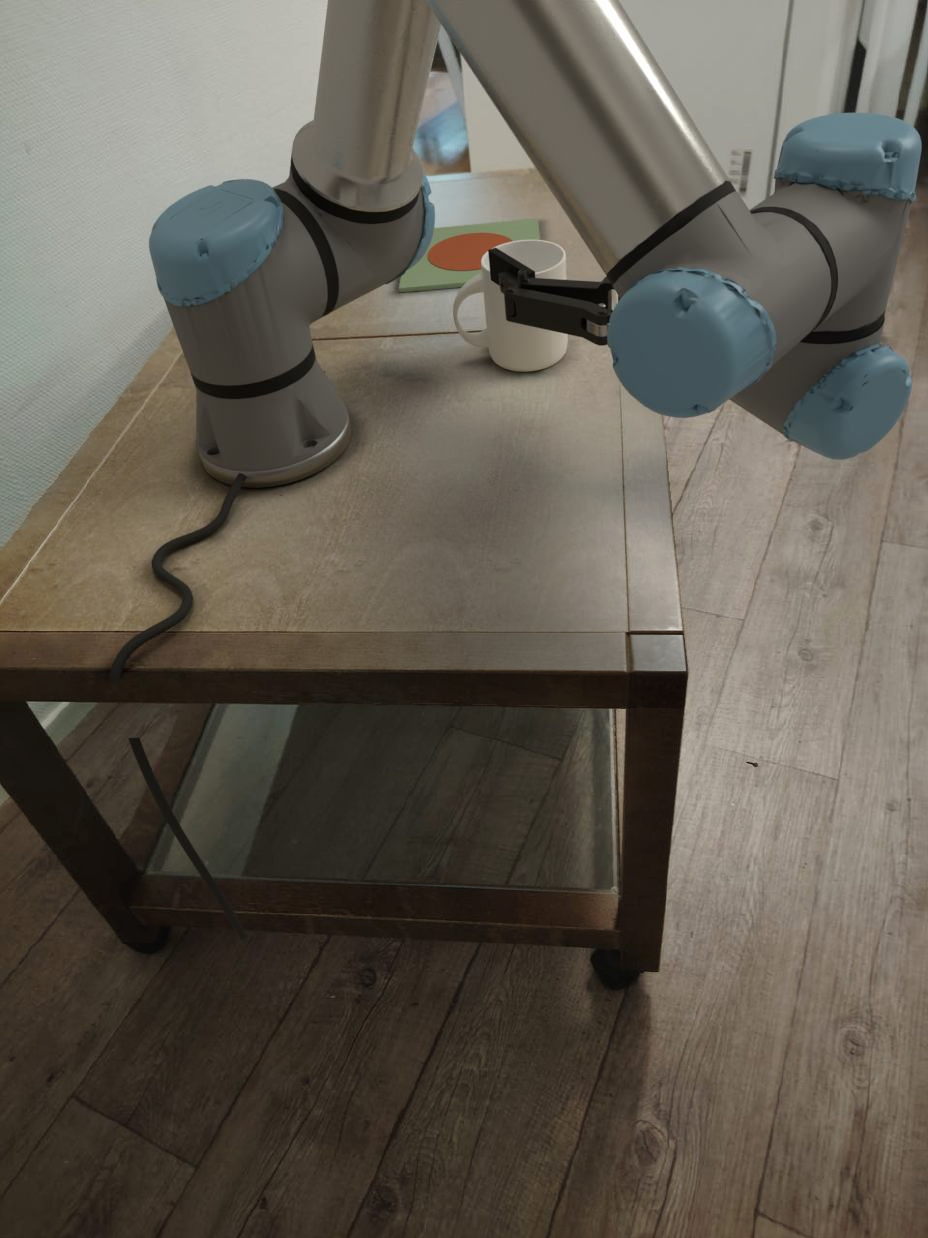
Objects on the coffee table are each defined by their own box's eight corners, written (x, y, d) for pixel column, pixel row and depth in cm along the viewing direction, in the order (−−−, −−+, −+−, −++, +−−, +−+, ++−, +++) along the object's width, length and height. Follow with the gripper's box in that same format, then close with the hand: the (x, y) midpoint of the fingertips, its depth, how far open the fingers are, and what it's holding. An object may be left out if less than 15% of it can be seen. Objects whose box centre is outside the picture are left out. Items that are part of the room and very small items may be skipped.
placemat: (543, 280, 110) (543, 274, 110) (399, 292, 112) (398, 287, 111) (538, 222, 123) (538, 217, 122) (408, 234, 124) (408, 229, 124)
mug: (456, 343, 101) (445, 248, 94) (562, 330, 101) (560, 234, 93) (460, 381, 95) (449, 284, 87) (573, 368, 95) (571, 269, 87)
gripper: (574, 428, 66) (441, 323, 80) (831, 322, 72) (668, 243, 87) (571, 333, 60) (430, 239, 74) (849, 228, 67) (672, 161, 81)
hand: (558, 241), depth 81 cm, fingers open, 13 cm apart
